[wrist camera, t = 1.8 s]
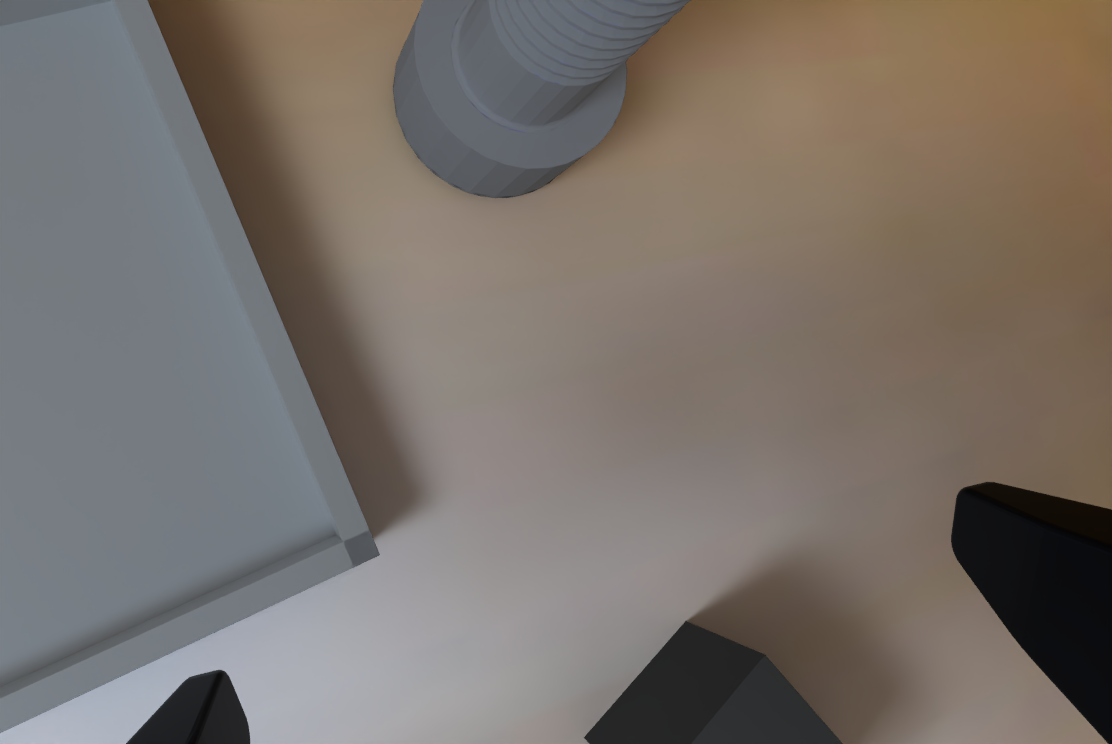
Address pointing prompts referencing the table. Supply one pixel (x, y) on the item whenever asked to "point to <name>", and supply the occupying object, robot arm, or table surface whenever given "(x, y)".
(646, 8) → the bolt
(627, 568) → the table surface
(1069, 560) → the robot arm
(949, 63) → the table surface
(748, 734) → the block
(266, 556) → the tray
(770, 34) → the table surface
